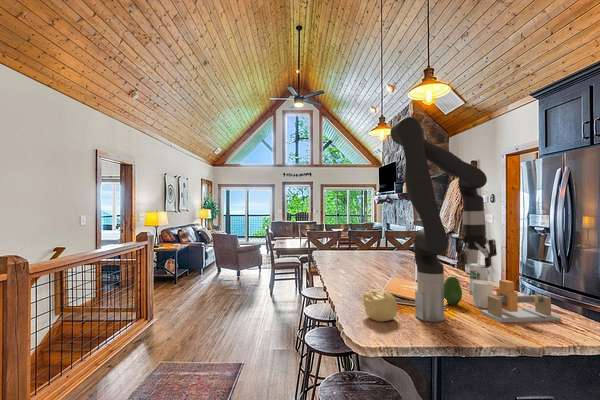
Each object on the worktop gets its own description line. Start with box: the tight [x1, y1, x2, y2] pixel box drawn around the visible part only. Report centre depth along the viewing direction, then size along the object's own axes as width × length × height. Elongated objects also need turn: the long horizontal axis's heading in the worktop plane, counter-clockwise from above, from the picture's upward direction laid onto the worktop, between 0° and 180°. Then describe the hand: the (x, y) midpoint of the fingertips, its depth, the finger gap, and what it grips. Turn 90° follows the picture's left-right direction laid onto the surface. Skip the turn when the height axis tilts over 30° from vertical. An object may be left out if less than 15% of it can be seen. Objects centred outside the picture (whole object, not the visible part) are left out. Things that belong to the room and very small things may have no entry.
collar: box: [496, 279, 519, 312], centre depth 124 cm, size 3×7×10 cm, turn 6°
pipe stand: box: [479, 293, 562, 323], centre depth 124 cm, size 24×11×8 cm, turn 96°
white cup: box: [472, 280, 494, 309], centre depth 138 cm, size 8×8×10 cm
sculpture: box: [362, 288, 398, 323], centre depth 121 cm, size 12×12×11 cm
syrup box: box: [468, 262, 489, 295], centre depth 156 cm, size 6×6×14 cm
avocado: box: [444, 276, 463, 306], centre depth 140 cm, size 8×8×12 cm
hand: (475, 265), depth 123 cm, fingers open, 8 cm apart
